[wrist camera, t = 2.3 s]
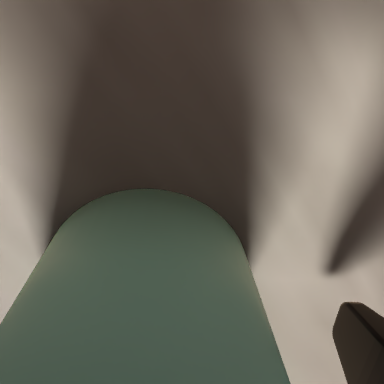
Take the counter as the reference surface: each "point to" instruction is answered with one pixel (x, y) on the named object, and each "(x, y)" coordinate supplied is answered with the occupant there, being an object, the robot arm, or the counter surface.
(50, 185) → the counter surface
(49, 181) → the counter surface
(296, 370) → the counter surface
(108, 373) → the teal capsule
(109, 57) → the counter surface
